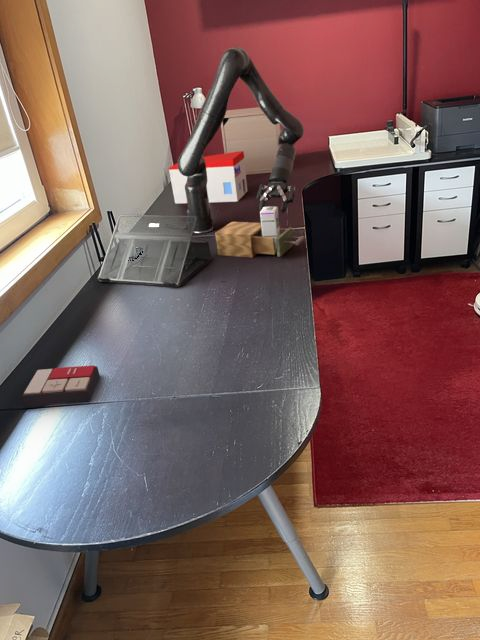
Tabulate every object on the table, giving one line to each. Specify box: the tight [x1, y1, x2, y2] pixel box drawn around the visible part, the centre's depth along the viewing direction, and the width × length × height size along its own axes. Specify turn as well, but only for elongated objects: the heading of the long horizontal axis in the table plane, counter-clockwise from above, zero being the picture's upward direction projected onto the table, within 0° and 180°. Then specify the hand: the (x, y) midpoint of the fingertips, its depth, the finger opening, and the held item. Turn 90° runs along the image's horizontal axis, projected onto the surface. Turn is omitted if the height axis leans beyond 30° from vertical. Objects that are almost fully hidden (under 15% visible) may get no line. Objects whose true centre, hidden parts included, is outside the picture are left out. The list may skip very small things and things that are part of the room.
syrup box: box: [259, 205, 281, 249], centre depth 187 cm, size 6×6×14 cm
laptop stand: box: [96, 214, 212, 288], centre depth 182 cm, size 33×28×18 cm
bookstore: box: [168, 151, 248, 205], centre depth 268 cm, size 21×35×21 cm, turn 77°
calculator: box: [21, 364, 100, 409], centre depth 122 cm, size 11×4×15 cm
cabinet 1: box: [220, 106, 282, 176], centre depth 317 cm, size 35×29×34 cm
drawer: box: [251, 226, 305, 258], centre depth 189 cm, size 20×13×7 cm, turn 65°
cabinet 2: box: [214, 221, 262, 259], centre depth 195 cm, size 15×14×9 cm
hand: (271, 211), depth 186 cm, fingers open, 8 cm apart
